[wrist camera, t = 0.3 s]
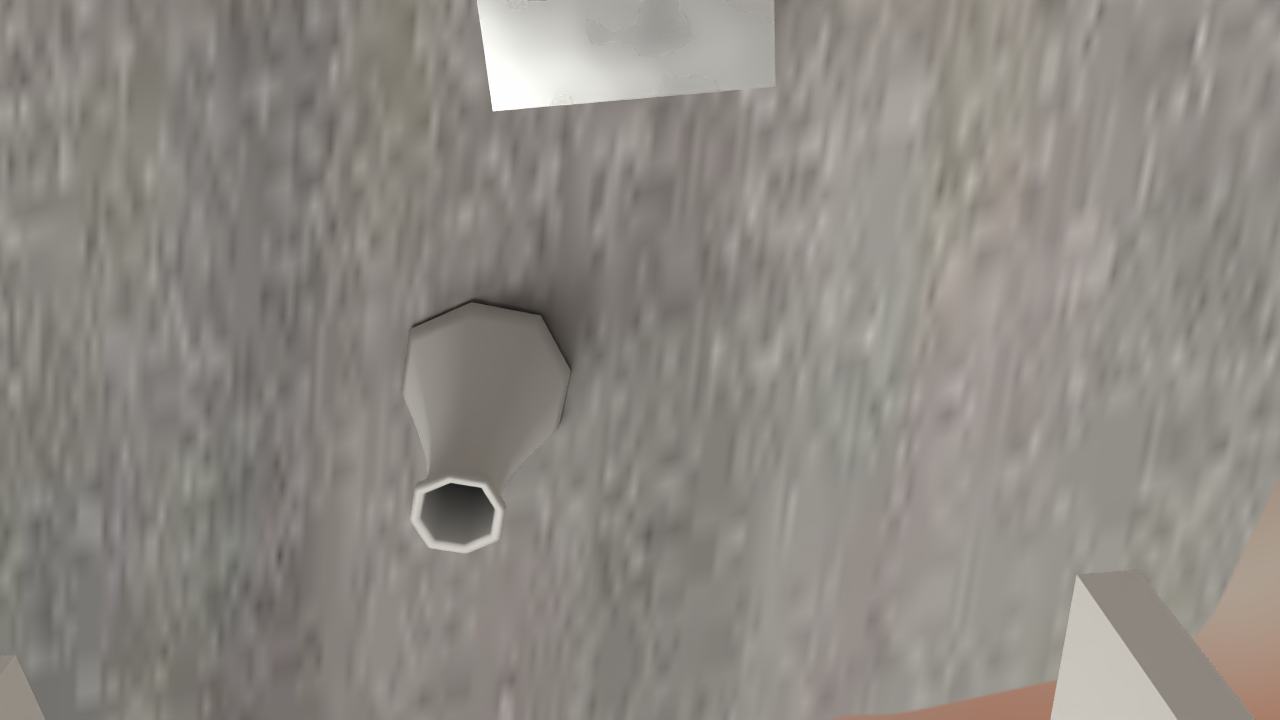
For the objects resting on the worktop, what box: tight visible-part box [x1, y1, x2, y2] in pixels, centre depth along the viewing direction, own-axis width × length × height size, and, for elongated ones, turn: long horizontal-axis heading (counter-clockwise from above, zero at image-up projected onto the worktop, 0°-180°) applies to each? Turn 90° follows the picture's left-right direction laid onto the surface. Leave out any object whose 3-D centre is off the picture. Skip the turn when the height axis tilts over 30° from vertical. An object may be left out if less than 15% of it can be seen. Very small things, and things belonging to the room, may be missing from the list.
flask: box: [402, 302, 571, 554], centre depth 37 cm, size 7×7×10 cm
